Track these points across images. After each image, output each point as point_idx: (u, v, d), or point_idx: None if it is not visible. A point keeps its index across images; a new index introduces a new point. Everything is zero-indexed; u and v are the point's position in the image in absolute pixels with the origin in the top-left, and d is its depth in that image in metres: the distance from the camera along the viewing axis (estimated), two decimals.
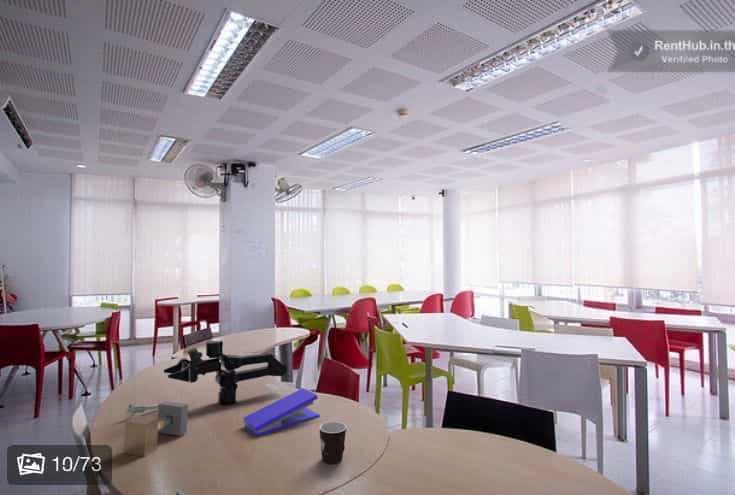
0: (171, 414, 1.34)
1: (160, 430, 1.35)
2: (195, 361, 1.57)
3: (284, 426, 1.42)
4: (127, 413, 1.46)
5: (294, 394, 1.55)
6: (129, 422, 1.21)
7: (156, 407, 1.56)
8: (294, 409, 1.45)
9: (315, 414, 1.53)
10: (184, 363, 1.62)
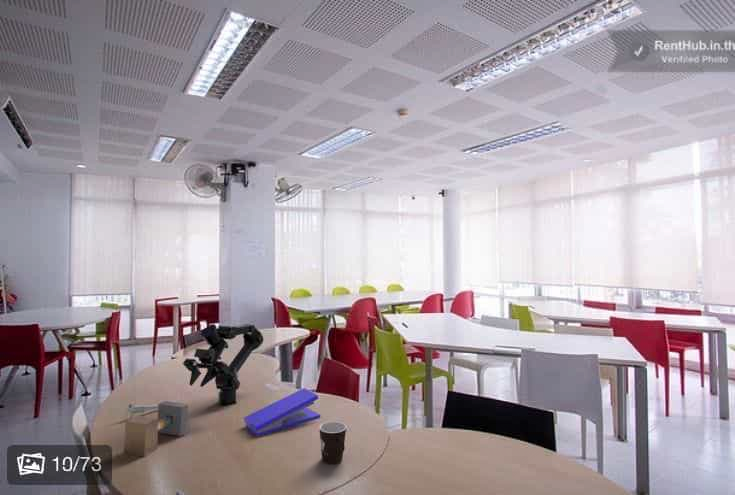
0: (171, 414, 1.34)
1: (160, 430, 1.35)
2: (210, 357, 1.52)
3: (284, 426, 1.42)
4: (127, 413, 1.46)
5: (295, 394, 1.55)
6: (129, 422, 1.21)
7: (156, 407, 1.56)
8: (294, 409, 1.45)
9: (316, 414, 1.53)
10: (197, 364, 1.53)
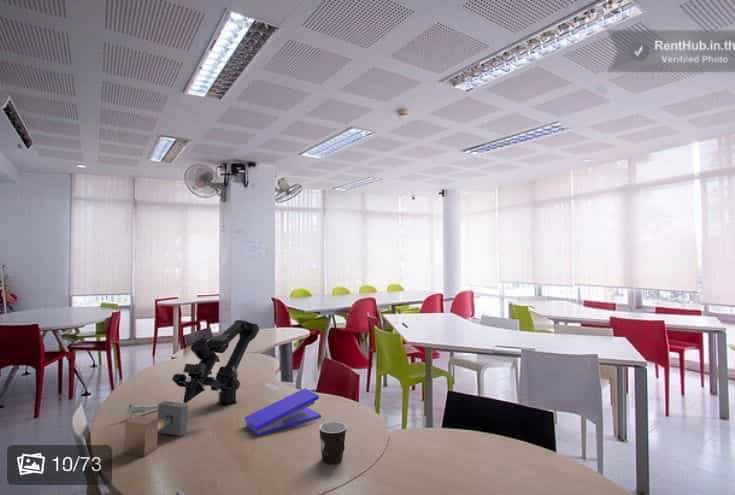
0: (171, 414, 1.34)
1: (160, 430, 1.35)
2: (200, 372, 1.46)
3: (285, 426, 1.42)
4: (127, 413, 1.46)
5: (296, 394, 1.55)
6: (129, 422, 1.21)
7: (156, 407, 1.56)
8: (295, 409, 1.45)
9: (316, 414, 1.53)
10: (191, 380, 1.47)
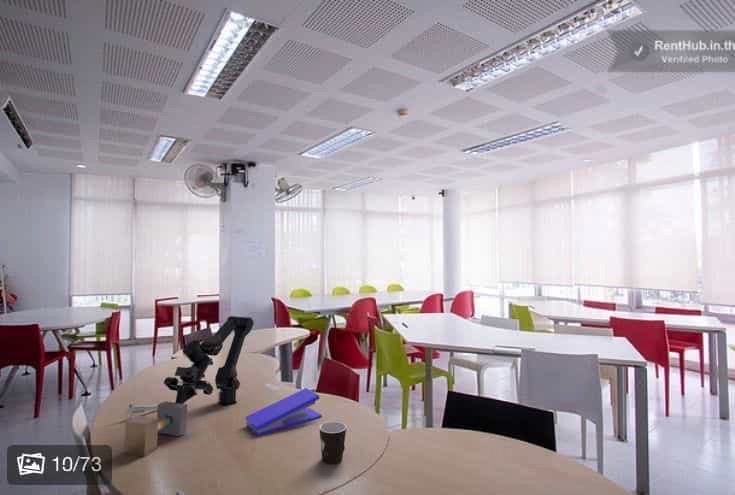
0: (170, 414, 1.34)
1: (159, 430, 1.35)
2: (192, 376, 1.42)
3: (285, 426, 1.42)
4: (127, 413, 1.46)
5: (296, 394, 1.55)
6: (129, 422, 1.21)
7: (156, 407, 1.56)
8: (296, 409, 1.45)
9: (317, 414, 1.53)
10: (183, 384, 1.42)
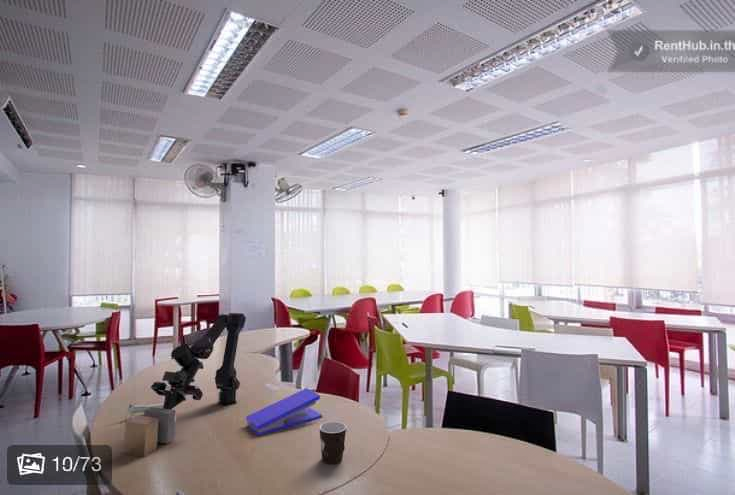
0: None
1: None
2: (181, 380, 1.36)
3: (286, 426, 1.42)
4: (127, 413, 1.46)
5: (297, 394, 1.55)
6: (129, 422, 1.21)
7: (156, 407, 1.56)
8: (296, 409, 1.45)
9: (318, 414, 1.53)
10: (171, 389, 1.37)
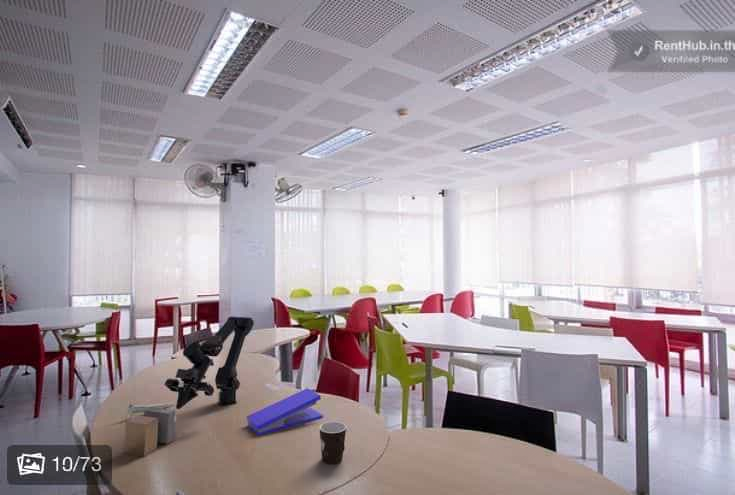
0: None
1: None
2: (193, 377, 1.42)
3: (286, 426, 1.42)
4: (127, 413, 1.46)
5: (298, 394, 1.55)
6: (129, 422, 1.21)
7: (156, 407, 1.56)
8: (296, 409, 1.45)
9: (319, 414, 1.53)
10: (184, 385, 1.43)
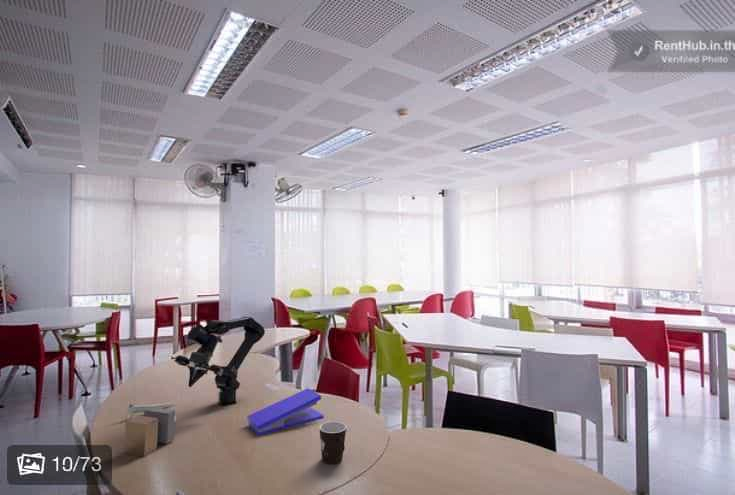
0: None
1: None
2: None
3: (287, 426, 1.42)
4: (128, 413, 1.46)
5: (299, 394, 1.55)
6: (129, 422, 1.21)
7: (156, 407, 1.56)
8: (297, 409, 1.45)
9: (319, 414, 1.53)
10: (195, 365, 1.52)
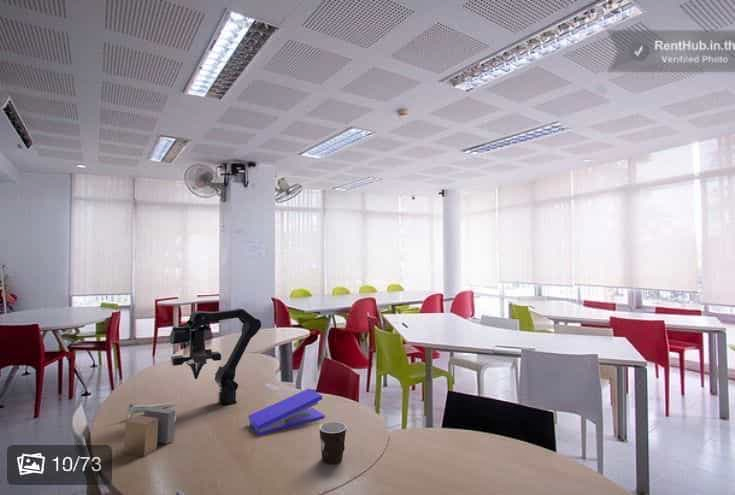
0: None
1: None
2: None
3: (287, 425, 1.43)
4: (128, 413, 1.46)
5: (300, 394, 1.55)
6: (129, 422, 1.21)
7: (157, 407, 1.56)
8: (298, 409, 1.45)
9: (320, 415, 1.53)
10: None
